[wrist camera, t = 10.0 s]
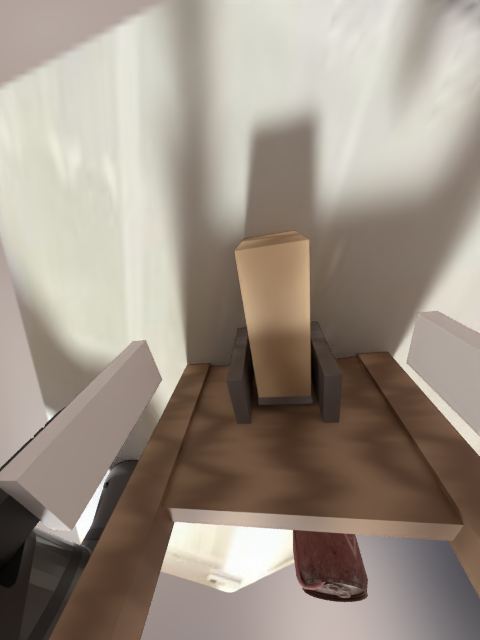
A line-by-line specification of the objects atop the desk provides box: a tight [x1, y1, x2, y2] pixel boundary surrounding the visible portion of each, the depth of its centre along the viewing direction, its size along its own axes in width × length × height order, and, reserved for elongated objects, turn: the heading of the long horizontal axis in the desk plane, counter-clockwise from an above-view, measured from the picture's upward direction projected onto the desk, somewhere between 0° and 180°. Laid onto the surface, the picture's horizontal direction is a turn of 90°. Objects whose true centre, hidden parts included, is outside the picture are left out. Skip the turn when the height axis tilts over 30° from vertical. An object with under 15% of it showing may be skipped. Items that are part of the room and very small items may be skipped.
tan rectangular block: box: [234, 231, 312, 405], centre depth 18 cm, size 5×13×7 cm, turn 9°
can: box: [293, 530, 368, 602], centre depth 24 cm, size 6×6×14 cm
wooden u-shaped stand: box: [49, 322, 480, 640], centre depth 15 cm, size 23×8×20 cm, turn 100°
